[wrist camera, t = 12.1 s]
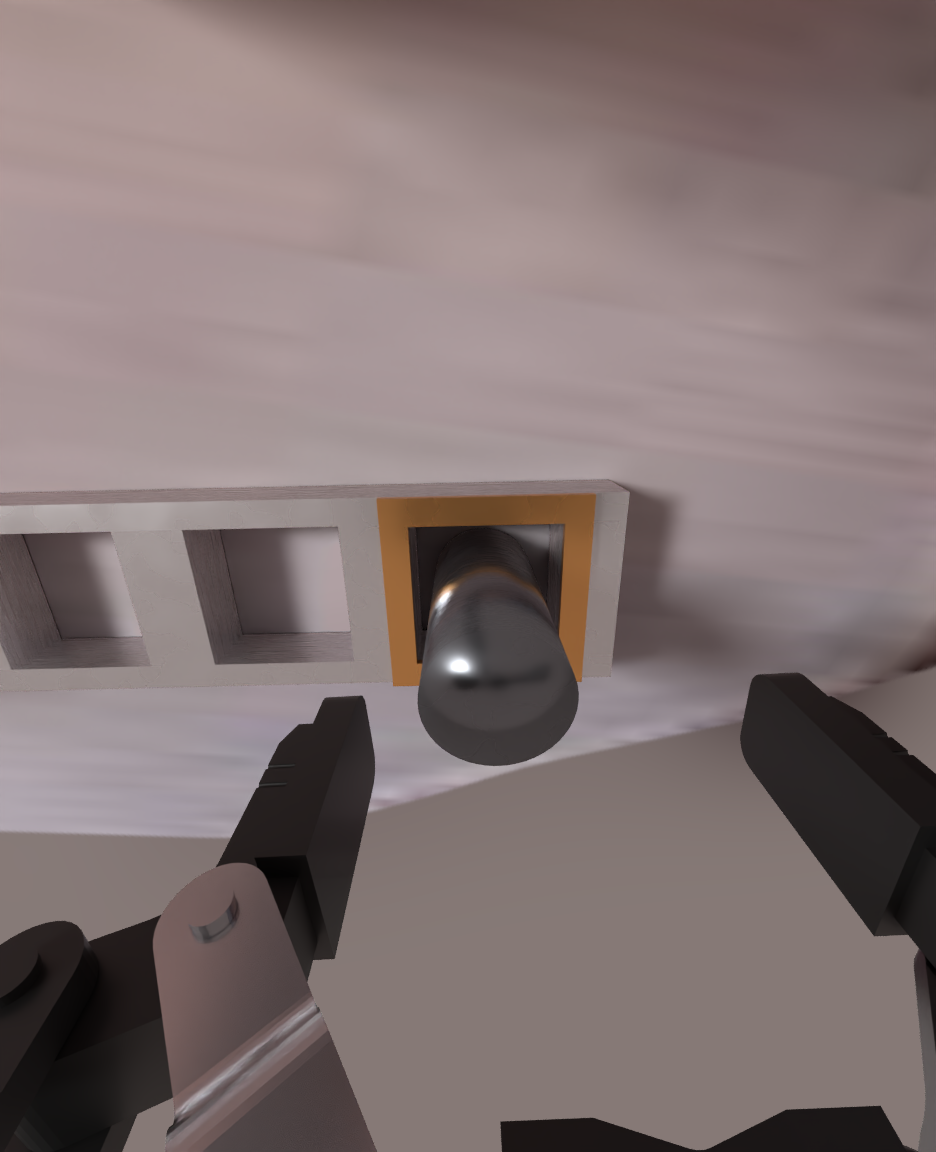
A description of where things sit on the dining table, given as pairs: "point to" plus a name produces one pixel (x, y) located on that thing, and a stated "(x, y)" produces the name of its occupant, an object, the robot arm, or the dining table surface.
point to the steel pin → (493, 656)
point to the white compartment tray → (370, 565)
